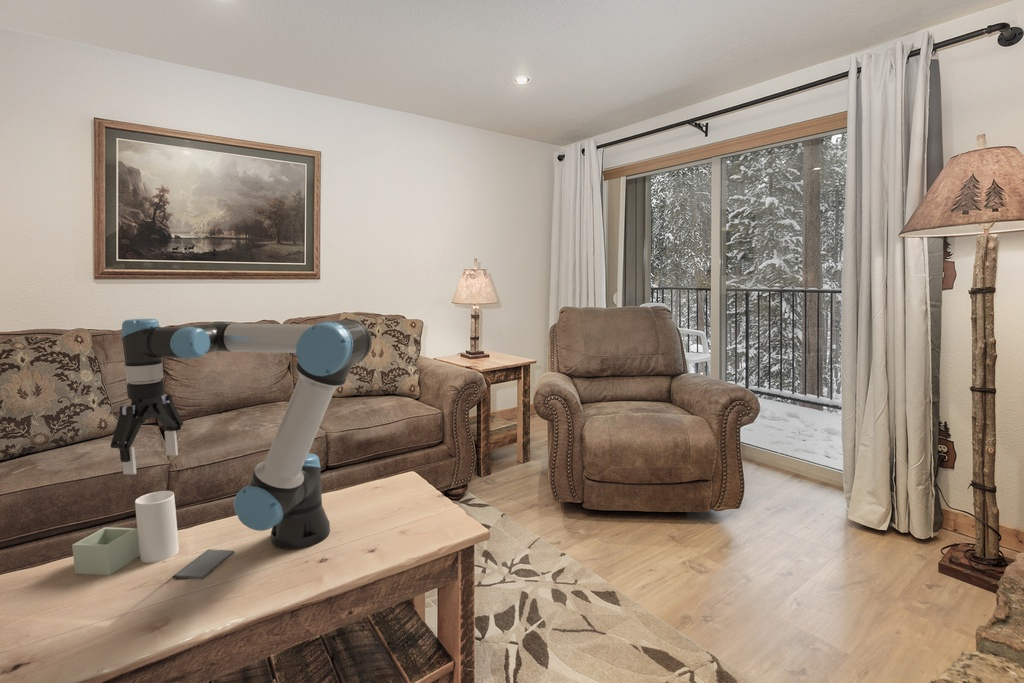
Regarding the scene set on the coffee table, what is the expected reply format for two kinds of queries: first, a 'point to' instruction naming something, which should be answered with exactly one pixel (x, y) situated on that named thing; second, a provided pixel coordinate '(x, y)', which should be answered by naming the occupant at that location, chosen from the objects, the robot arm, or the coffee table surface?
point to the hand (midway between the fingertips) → (152, 464)
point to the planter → (106, 551)
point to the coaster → (204, 564)
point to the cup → (157, 526)
